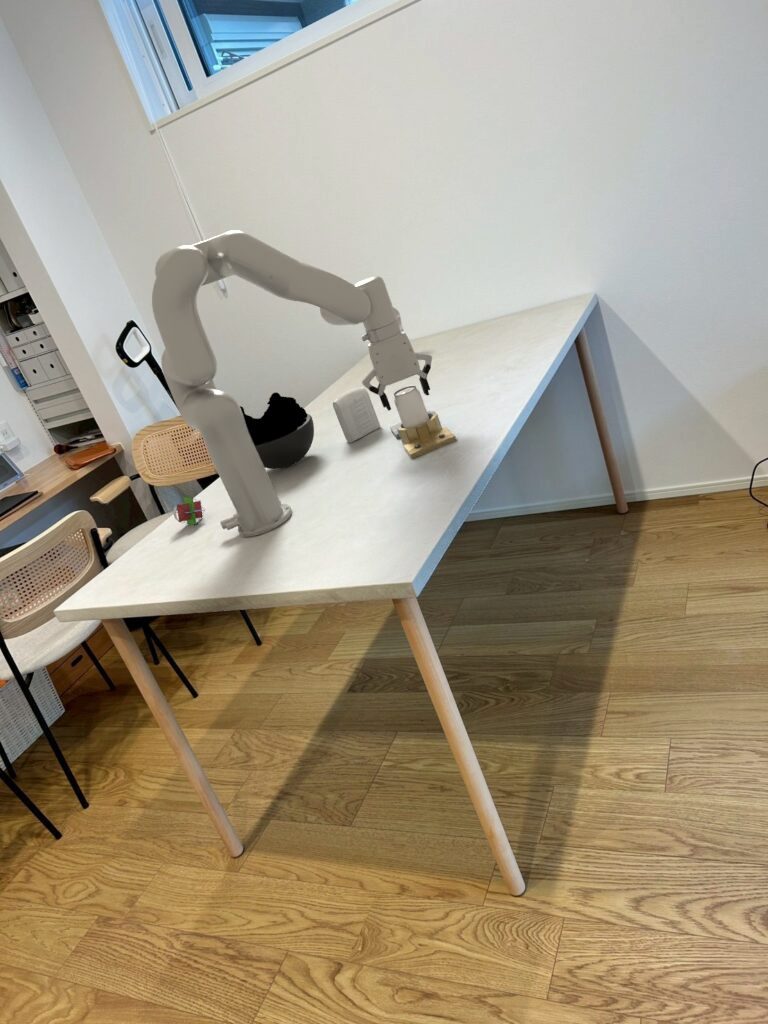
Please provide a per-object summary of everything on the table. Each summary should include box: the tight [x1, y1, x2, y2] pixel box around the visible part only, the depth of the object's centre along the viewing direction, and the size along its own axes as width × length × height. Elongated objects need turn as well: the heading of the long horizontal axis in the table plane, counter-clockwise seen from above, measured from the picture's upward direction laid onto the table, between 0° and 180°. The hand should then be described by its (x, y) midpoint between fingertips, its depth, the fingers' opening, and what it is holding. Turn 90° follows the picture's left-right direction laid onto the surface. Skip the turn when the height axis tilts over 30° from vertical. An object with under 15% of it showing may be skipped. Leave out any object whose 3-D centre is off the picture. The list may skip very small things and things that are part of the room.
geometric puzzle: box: [172, 497, 206, 526], centre depth 191 cm, size 7×7×8 cm
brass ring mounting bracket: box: [389, 410, 458, 460], centre depth 189 cm, size 11×26×4 cm, turn 11°
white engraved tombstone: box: [332, 386, 381, 443], centre depth 205 cm, size 10×4×12 cm, turn 123°
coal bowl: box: [239, 392, 315, 470], centre depth 203 cm, size 20×20×19 cm
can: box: [393, 385, 430, 428], centre depth 187 cm, size 6×6×12 cm
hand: (407, 401), depth 186 cm, fingers open, 9 cm apart
